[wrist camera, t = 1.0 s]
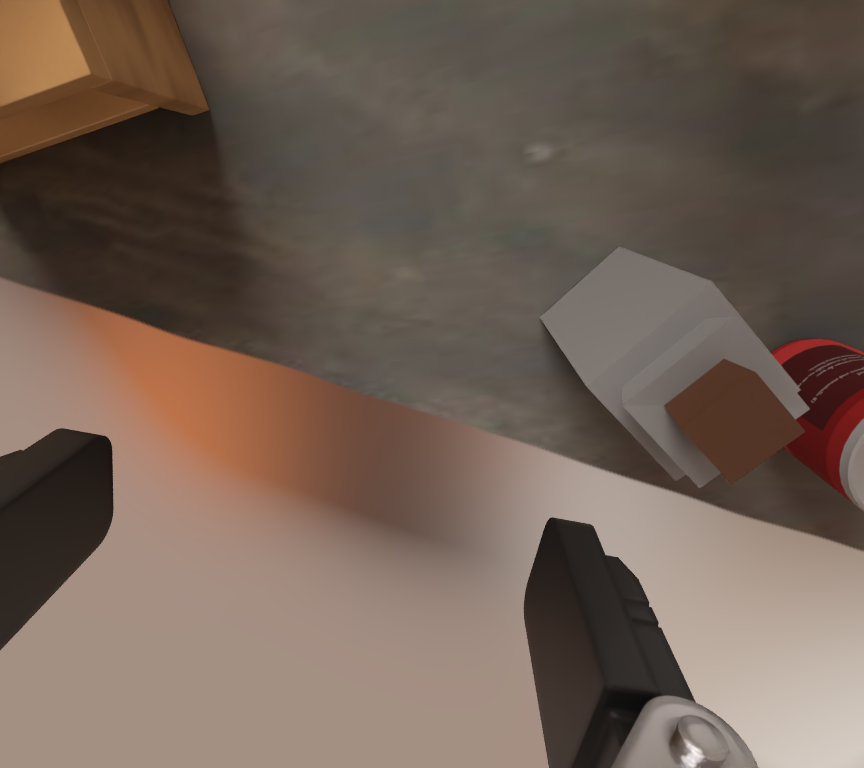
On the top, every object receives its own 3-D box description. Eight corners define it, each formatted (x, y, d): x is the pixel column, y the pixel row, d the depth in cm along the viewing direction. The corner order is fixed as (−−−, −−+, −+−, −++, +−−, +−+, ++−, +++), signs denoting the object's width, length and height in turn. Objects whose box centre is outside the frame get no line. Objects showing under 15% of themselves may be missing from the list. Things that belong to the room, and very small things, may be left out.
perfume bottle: (539, 317, 38) (614, 428, 21) (619, 246, 36) (770, 303, 19) (602, 384, 39) (719, 538, 22) (681, 319, 37) (873, 432, 21)
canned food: (824, 449, 40) (953, 541, 30) (722, 422, 40) (818, 506, 30) (881, 352, 38) (1043, 417, 28) (773, 321, 37) (897, 375, 27)
